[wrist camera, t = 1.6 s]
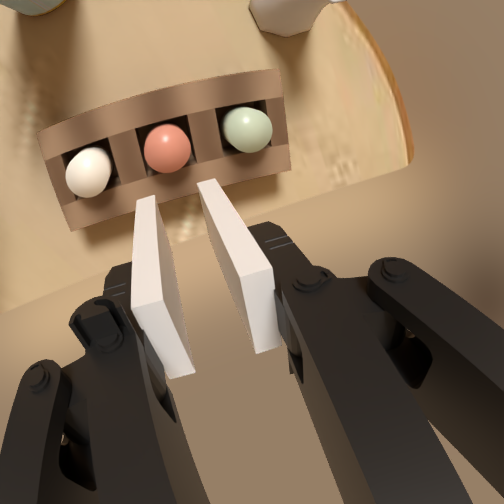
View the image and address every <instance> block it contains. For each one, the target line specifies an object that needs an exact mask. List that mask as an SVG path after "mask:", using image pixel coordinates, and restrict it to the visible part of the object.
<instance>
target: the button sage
mask: <svg viewBox="0 0 504 504" xmlns="http://www.w3.org/2000/svg"><path fill="white" fill-rule="evenodd" d="M220 131H221V134H222V136H223V137H224V138H225V139H226V140H227V141H228V142H229V143H230V144H232V145H233V146H234V147H235V148H237V149H238V150H240V151H242V152H246V153H253V152H257V151H259V150H261V149H263V148H264V147H265V146H266V145H267V144H268V142H269V141H270V139H271V136H272V124H271V121H270V119H269V118H268V116H267V115H266V114H264V113H263V112H261V111H259V110H256V109H252V108H249V107H245V106H236V107H233V108H231V109H229V110H228V111H227V112H226V113H225V114H224V115H223V117H222V119H221V122H220Z"/></svg>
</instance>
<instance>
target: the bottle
mask: <svg viewBox="0 0 504 504" xmlns="http://www.w3.org/2000/svg"><path fill="white" fill-rule="evenodd" d="M65 1H66V0H0V4H2V5H4V6H6V7H9V8H11V9H13V10H16V11H18V12H20V13H22V14H25V15H28V16H40V15H43V14H47V13H49V12H51V11H53V10H54V9H56V8H58V7H59V6H60V5H61V4H63V3H64V2H65Z"/></svg>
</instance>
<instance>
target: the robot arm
mask: <svg viewBox="0 0 504 504" xmlns="http://www.w3.org/2000/svg"><path fill="white" fill-rule="evenodd" d="M197 187H198V191H199V195H200V200H201V204H202V208H203V213H204V217H205V221H206V225H207V229H208V233H209V238H210V241H211V244H212V246H213V249H214V252H215V254H216V257H217V259H218V262H219V264H220V267H221V270H222V272H223V275H224V277H225V280H226V282H227V285H228V287H229V290H230V292H231V295H232V297H233V300H234V302H235V304H236V307H237V309H238V312H239V314H240V316H241V319H242V322H243V324H244V326H245V329H246V331H247V334H248V336H249V338H250V341H251V343H252V345H253V348H254V350H255V353H256V354H258V353H261V352H264V351H267V350H270V349H273V348H276V347H279V346H282V342H281V335H282V337H283V339H284V341H285V343H286V345H287V349H288V359H289V370H290V374H293V373H294V374H295V377H296V379H297V382H298V385H299V387H300V390H301V393H302V395H303V398H304V400H305V403H306V406H307V408H308V411H309V413H310V416H311V419H312V421H313V424H314V427H315V429H316V432H317V434H318V437H319V439H320V442H321V445H322V447H323V450H324V453H325V455H326V458H327V460H328V463H329V466H330V468H331V471H332V473H333V476H334V479H335V481H336V483H337V486H338V488H339V492H340V494H341V496H342V499H343V502H344V504H473V503H472V501H471V499H470V497H469V495H468V493H467V491H466V489H465V487H464V485H463V483H462V482H461V479H460V478H459V476H458V474H457V472H456V470H455V468H454V466H453V464H452V463H451V461H450V459H449V457H448V455H447V453H446V452H445V450H444V448H443V446H442V444H441V443H440V441H439V439H438V437H437V436H436V434H435V432H434V430H433V428H432V427H431V425H430V423H429V422H431V423H432V425H434V427H435V428H436V429H437V430H438V431H439V432H440V433H441V434H442V435H443V436H444V437H445V438H446V439H447V440H448V441H449V442H450V443H451V444H452V445H453V446H454V447H455V448H456V449H457V450H458V451H459V452H460V453H461V454H462V455H463V456H464V457H465V458H466V459H467V460H468V462H469V463H471V465H472V466H473V467H474V468H475V469H476V470H478V472H479V473H480V474H481V475H482V476H483V477H484V478H485V479H486V480H487V481H488V482H489V483H490V484H491V485H492V486H493V487H494V488H495V489H496V491H498V492H499V494H500V495H501V496H502V497H503V498H504V329H502V328H501V327H500V326H498V325H497V324H496V323H495V322H493V321H492V320H491V319H489V318H488V317H487V316H485V315H484V314H483V313H482V312H480V311H479V310H478V309H476V308H475V307H474V306H472V305H471V304H469V303H468V302H467V301H466V300H464V299H463V298H461V297H460V296H459V295H457V294H456V293H455V292H453V291H451V290H450V289H449V288H447V287H446V286H445V285H443V284H442V283H440V282H439V281H437V280H436V279H435V278H433V277H432V276H430V275H429V274H427V273H426V272H425V271H423V270H422V269H420V268H419V267H417V266H416V265H414V264H413V263H411V262H409V261H407V260H405V259H401V258H396V257H385V258H382V259H379V260H376V261H375V262H374V263H373V264H372V265H371V266H370V268H369V271H368V276H364V277H355V278H337V277H336V276H335V275H334V274H333V273H332V272H331V271H330V270H328V269H326V268H323V267H321V266H313V265H312V264H311V263H310V261H309V260H308V259H307V258H306V257H305V255H304V254H303V253H302V252H301V250H300V249H299V248H298V247H297V246H296V245H295V243H293V241H292V240H291V239H290V237H289V236H287V234H286V233H285V231H284V230H283V229H282V228H281V227H280V226H278V225H276V224H273V223H271V222H269V221H268V222H264V223H261V224H257V225H253V226H250V227H246V225H245V224H244V222H243V221H242V219H241V218H240V216H239V214H238V213H237V211H236V210H235V208H234V207H233V205H232V204H231V202H230V201H229V199H228V197H227V196H226V194H225V193H224V191H223V190H222V188H221V187H220V185H219V184H218V182H217V180H216V179H215V178H214V179H210V180H206V181H202V182H199V183H197ZM69 326H70V328H71V329H72V330H73V332H74V333H75V335H76V336H77V338H78V339H79V341H80V342H81V344H82V345H83V347H84V348H85V352H86V353H85V355H84V356H83V357H81V358H80V359H78V360H76V361H74V362H72V363H71V364H69V365H67V366H65V367H63V368H61V367H60V366H59V365H58V364H57V363H56V362H54V361H53V360H47V359H45V360H41V361H38V362H36V363H35V364H33V365H31V366H30V367H29V369H28V370H27V371H26V372H25V373H24V375H23V377H22V379H21V381H20V384H19V387H18V390H17V394H16V397H15V400H14V403H13V406H12V410H11V413H10V417H9V420H8V424H7V428H6V432H5V436H4V440H3V444H2V449H1V454H0V504H210V502H209V500H208V497H207V495H206V492H205V490H204V487H203V484H202V482H201V479H200V476H199V474H198V471H197V468H196V466H195V463H194V460H193V457H192V454H191V452H190V449H189V446H188V443H187V440H186V437H185V434H184V431H183V427H182V424H181V421H180V418H179V415H178V412H177V408H176V405H175V402H174V398H173V394H172V393H171V391H170V389H169V387H168V386H167V384H166V380H165V373H164V370H165V372H166V373H167V375H168V377H169V379H173V378H177V377H180V376H184V375H188V374H192V373H195V367H194V363H193V358H192V354H191V349H190V345H189V340H188V335H187V330H186V326H185V320H184V316H183V311H182V305H181V300H180V294H179V289H178V283H177V278H176V272H175V266H174V260H173V254H172V250H171V247H170V243H169V240H168V237H167V234H166V231H165V228H164V224H163V221H162V218H161V214H160V211H159V208H158V204H157V201H156V197H155V195H152V196H149V197H145V198H142V199H139V200H137V202H136V213H135V225H134V238H133V255H132V261H131V262H128V263H125V264H121V265H118V266H115V267H112V269H111V270H110V272H109V274H108V275H107V276H106V278H105V284H104V291H103V296H98V297H94V298H92V299H90V300H88V301H86V302H84V303H83V304H82V305H81V306H79V307H78V308H77V309H76V311H75V312H74V313H73V314H72V316H71V318H70V321H69ZM407 329H408V330H407ZM411 332H412V333H411ZM427 419H428V420H429V422H428V420H427ZM62 434H63V435H64V439H63V441H62V443H61V440H62Z"/></svg>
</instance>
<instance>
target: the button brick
mask: <svg viewBox="0 0 504 504" xmlns="http://www.w3.org/2000/svg"><path fill="white" fill-rule="evenodd" d="M190 153H191V146H190V142H189V139H188V138H187V136H186V135H185V133H184V131H183V130H182V129H181V128H180V127H179V126H177V125H176V124H173V123H161V124H158V125H156V126H154V127H153V128H152V129H151V130H150V131H149V133H148V134H147V137H146V140H145V147H144V156H145V159H146V161H147V163H148V165H149V166H150V167H151V168H152V169H154V170H156V171H158V172H161V173H171V172H175V171H177V170H179V169H180V168H182V167H183V166H184V165H185V164H186V162H187V161H188V159H189V157H190Z"/></svg>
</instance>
